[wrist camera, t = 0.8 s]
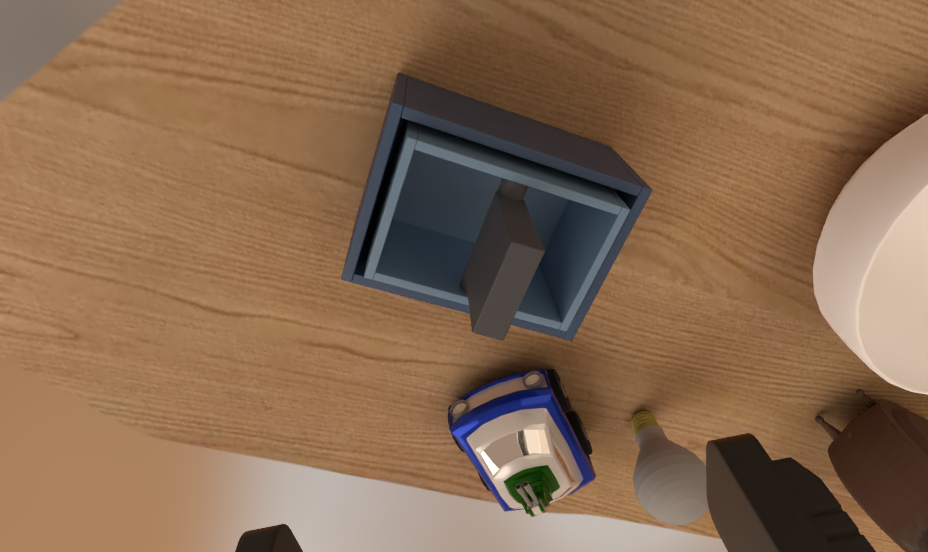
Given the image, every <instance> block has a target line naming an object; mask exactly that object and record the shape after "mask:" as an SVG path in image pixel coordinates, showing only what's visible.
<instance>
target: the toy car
mask: <svg viewBox="0 0 928 552" xmlns="http://www.w3.org/2000/svg"><path fill="white" fill-rule="evenodd" d="M568 412H571V405H570V402H569V399H568V396H567V393H566V391H565V388H564V386H563V384H562V382H561V380H560V377H559V375H558V374H557V372H556V370H555V369H552V370H549V371H546V369H539V370H533V371H527V372H521V373H515V374H512V375H509V376H506V377H503V378H500V379H497V380H494V381H491V382H489V383H487V384H485V385H483V386H481V387H479V388H476V389H474V390H472V391H470V392H469V393H467V394H466V395H464V396H463V397H462V398H460V399H459V400H457V401H456V402H454V403H453V404H452V405H450V406H449V408H448V423H449V429H450V431H451V433H452V436H453V439H454V440H455V442H456V444H457V446H458V447H459V449H460V450H461V451H463V452H465V453H466V455H467V456H468V458H469V459H470V461H471V462H472V464H473V465H474V467H475V468H476V469H477V471H478V474H479V476H480V479H481V481H482V483H483V484H484V486H485V487H486V489H487V490H489V491H491V492H492V493H493V495H494V496H495V498H496V499H497V501H498V502H499V504H500V505H501V507H502V508H503V510H504V511H512V510H513V511H514V510H521V509H525V511H526V513H527V514H530V515H531V516H532V517H534V516H536V515H539V514H542V513H545V512H547V510H546V507H549V505H550V503H552V502H554V501H557V500H559V499H561V498H563V497H566V496H568V495H570V494H572V493H574V492H576V491H577V490H579V489H580V488H582V487H583V486H585V485H586V484H588V483H590V482H591V481H593V480H594V479H595V476H596V474H595V471H594V468H593V465H592V462H591V459H590V456H589V455H590V454H592V448H591V444H590V442H589V439H588V436H587V433H586V431H585V428H584V426H583V424H582V422H581V420H580V418H579V416H578V414H577V413H576V412H573V413H571V414H568V415H565V414H566V413H568Z"/></svg>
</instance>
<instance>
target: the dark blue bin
mask: <svg viewBox="0 0 928 552" xmlns="http://www.w3.org/2000/svg"><path fill="white" fill-rule="evenodd" d="M404 119H407V120H410V121H413V122H416V123H419V124H422V125H425V126H428V127H431V128H434V129H437V130H440V131H443V132H446V133H449V134H452V135H455V136H458V137H461V138H464V139H467V140H470V141H473V142H476V143H479V144H482V145H485V146H488V147H491V148H494V149H497V150H500V151H503V152H506V153H509V154H512V155H515V156H518V157H521V158H524V159H527V160H530V161H533V162H536V163H539V164H542V165H545V166H548V167H551V168H554V169H557V170H560V171H563V172H566V173H569V174H572V175H575V176H578V177H581V178H584V179H587V180H590V181H593V182H596V183H599V184H602V185H605V186H608V187H611V188H613V189H614V190H615V191H616V193H617V194H618V195H619V196H620V198H621V199H622V200H623V201H624V203H625V204H626V205H627V206H628V208H629V209H630V212H629V214H628V216H627V217H626V219H625V221H624V223H623V225H622V227H621V229H620V231H619V233H618V235H617V236H616V238H615V240H614V242H613V244H612V246H611V248H610V250H609V252H608V254H607V256H606V257H605V259H604V261H603V263H602V265H601V267H600V269H599V271H598V273H597V275H596V276H595V278H594V280H593V282H592V284H591V286H590V288H589V290H588V292H587V294H586V295H585V297H584V299H583V301H582V303H581V305H580V307H579V309H578V311H577V313H576V314H575V316H574V318H573V320H572V322H571V324H570V326H569V328H568V330H567V331H563V330H560V329H556V328H552V327H548V326H544V325H541V324H537V323H533V322H529V321H526V320H522V319H518V318H514V319H513V321H512V323H511V325H515V326H518V327H522V328H526V329H530V330H534V331H537V332H541V333H545V334H549V335H552V336H556V337H560V338H564V339H567V340H571V341H572V340H573V338H574V336H575V334H576V332H577V330H578V328H579V326H580V325H581V323H582V321H583V319H584V317H585V315H586V313H587V312H588V310H589V308H590V306H591V304H592V302H593V300H594V298H595V297H596V295H597V293H598V291H599V289H600V287H601V285H602V284H603V282H604V280H605V278H606V276H607V274H608V272H609V270H610V269H611V267H612V265H613V263H614V261H615V259H616V257H617V256H618V254H619V252H620V250H621V248H622V246H623V244H624V242H625V241H626V239H627V237H628V235H629V233H630V231H631V229H632V228H633V226H634V224H635V222H636V220H637V218H638V216H639V214H640V213H641V211H642V209H643V207H644V205H645V203H646V201H647V200H648V198H649V196H650V194H651V192H652V189H651V188H650V187H649V186H648V185H647V184H646V183H645V182H644V181H643V180H642V179H641V178H640V177H639V175H638V174H637V173H636V172H635V171H634V170H633V169H632V168H631V167H630V166H629V165H628V164H627V163H626V162H625V161H624V160H623V159H622V158H621V157H620V156H619V155H618V154H617V153H616V152H615V151H614V150H613V149H612V148H611V147H609V146H606V145H603V144H601V143H598V142H595V141H592V140H589V139H586V138H583V137H581V136H578V135H575V134H572V133H569V132H566V131H563V130H561V129H558V128H555V127H552V126H549V125H546V124H544V123H541V122H538V121H535V120H532V119H529V118H526V117H524V116H521V115H518V114H515V113H512V112H509V111H506V110H504V109H501V108H498V107H495V106H492V105H489V104H486V103H484V102H481V101H478V100H475V99H472V98H469V97H467V96H464V95H461V94H458V93H455V92H452V91H449V90H447V89H444V88H441V87H438V86H435V85H432V84H429V83H427V82H424V81H421V80H418V79H415V78H412V77H409V76H407V75H404V74H401V73H398V74H397V78H396V81H395V85H394V88H393V92H392V95H391V99H390V102H389V106H388V109H387V113H386V116H385V120H384V123H383V127H382V130H381V134H380V137H379V141H378V144H377V148H376V151H375V155H374V158H373V162H372V165H371V169H370V172H369V176H368V179H367V183H366V186H365V190H364V193H363V197H362V200H361V204H360V207H359V211H358V214H357V218H356V221H355V225H354V229H353V233H352V237H351V241H350V245H349V249H348V253H347V257H346V261H345V265H344V269H343V273H342V277H341V279H342V280H344V281H348V282H352V283H355V284H359V285H363V286H367V287H371V288H374V289H378V290H382V291H386V292H389V293H393V294H397V295H401V296H405V297H408V298H412V299H416V300H420V301H424V302H427V303H431V304H435V305H439V306H443V307H446V308H450V309H454V310H458V311H462V312H465V313H469V314H470V311H469V305H466V304H462V303H458V302H454V301H451V300H447V299H443V298H439V297H436V296H432V295H428V294H425V293H421V292H417V291H413V290H410V289H406V288H402V287H398V286H395V285H391V284H387V283H383V282H380V281H376V280H372V279H368V278H365V277H364V274H365V268H366V263H367V257H368V252H369V246H370V240H371V235H372V229H373V224H374V218H375V214H376V211H377V208H378V204H379V201H380V198H381V195H382V191H383V188H384V185H385V181H386V178H387V175H388V171H389V168H390V165H391V161H392V158H393V155H394V151H395V148H396V145H397V141H398V138H399V135H400V131H401V128H402V125H403V122H404Z"/></svg>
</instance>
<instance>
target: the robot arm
mask: <svg viewBox="0 0 928 552" xmlns="http://www.w3.org/2000/svg"><path fill="white" fill-rule="evenodd" d="M706 493H707V501H708V506H709V510H710V513H711V516H712V519H713V522H714V524H715V527H716V529H717V531H718V533H719V535H720V537H721V539H722V540H723V543H724V544H725V546H726V548H727V550H728V552H876V551H875V550H874V549H873V547H872V546H871V545H870V543H869V542H868V541H867V539H866V538H865V537H864V535H861V534H860V533H859V530H858V527H857V526H856V525H855V524H854V522H853V521H852V520H851V518H850V517H849V516H848V514H847V513H846V512H845V511H843V510H842V508H841V505H840V504H839V502H838V501H837V500H836V499H835V497H834V496H833V495H832V493H831V492H830V491H829V489H828V488H827V487H826V485H825V484H824V483H823V481H822V480H821V479H820V478H819V477H818V476H816V475H815V474H813V473H812V472H811V471H809V470H808V469H806V468H805V467H803V466H802V465H801V464H799V463H798V462H796V461H795V460H794V459H792V458H791V457H790V458H785V459H780V460H774V461H772V460H771V459H770V457H769V456H768V454H767V453H766V451H765V450H764V448H763V447H762V446H761V444H760V443H759V441H758V440H757V439H756V438H755V437H754V436H753V435H752V434H750V433H747V434H742V435H737V436H732V437H727V438H722V439H717V440H711V441H708V443H707V446H706ZM235 552H303V551H302V549H301V547H300V546H299V544H298V542H297V540H296V538H295V537H294V535H293V533H292V531H291V530H290V528H289V527H288V526H287V525H286V524H281V525H277V526H272V527H266V528H261V529H256V530H251V531H247V532H245V533H243V535H242V536H241V538H240V540H239V542H238V545H237V548H236V551H235Z"/></svg>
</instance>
